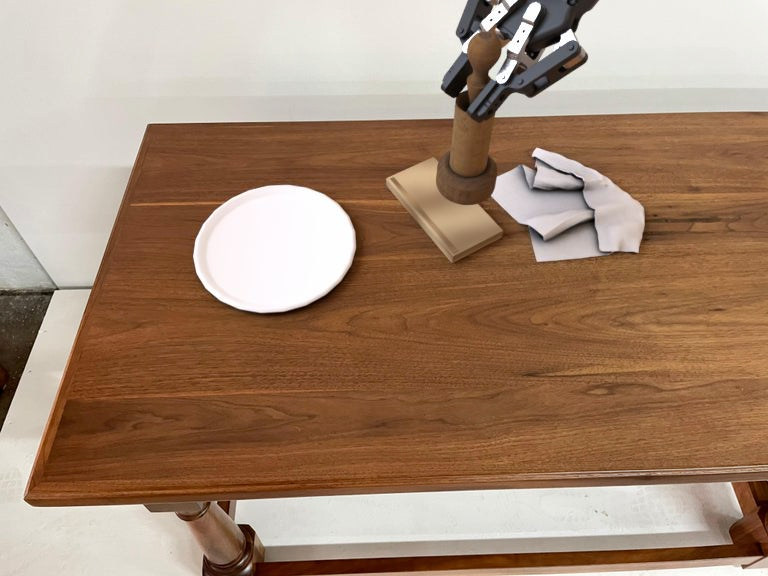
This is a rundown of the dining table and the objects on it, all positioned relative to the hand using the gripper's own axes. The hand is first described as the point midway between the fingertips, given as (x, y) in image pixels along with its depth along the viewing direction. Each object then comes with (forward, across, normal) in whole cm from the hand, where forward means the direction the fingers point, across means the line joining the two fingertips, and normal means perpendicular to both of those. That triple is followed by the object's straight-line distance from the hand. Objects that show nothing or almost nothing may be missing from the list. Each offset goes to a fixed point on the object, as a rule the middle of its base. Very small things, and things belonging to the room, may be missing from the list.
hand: (460, 105), depth 56 cm
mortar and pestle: (+7, 0, +10) cm, 12 cm away
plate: (+30, -13, +6) cm, 33 cm away
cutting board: (+14, -7, +21) cm, 26 cm away
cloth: (+4, 0, +32) cm, 32 cm away
